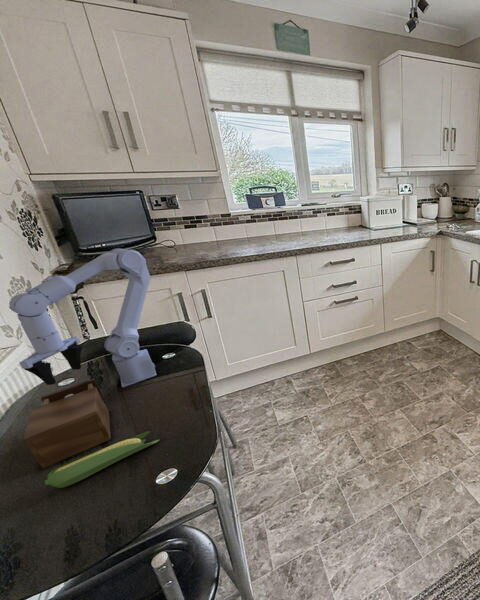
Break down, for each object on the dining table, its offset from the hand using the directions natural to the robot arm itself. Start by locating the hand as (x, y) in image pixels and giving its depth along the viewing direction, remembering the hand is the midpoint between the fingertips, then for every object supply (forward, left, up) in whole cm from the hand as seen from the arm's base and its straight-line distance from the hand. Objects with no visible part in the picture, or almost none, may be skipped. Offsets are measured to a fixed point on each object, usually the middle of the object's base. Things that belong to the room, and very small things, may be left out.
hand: (64, 376), depth 96 cm
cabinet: (0, +20, -10) cm, 22 cm away
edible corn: (-6, +38, -11) cm, 40 cm away
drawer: (0, +8, -9) cm, 12 cm away
